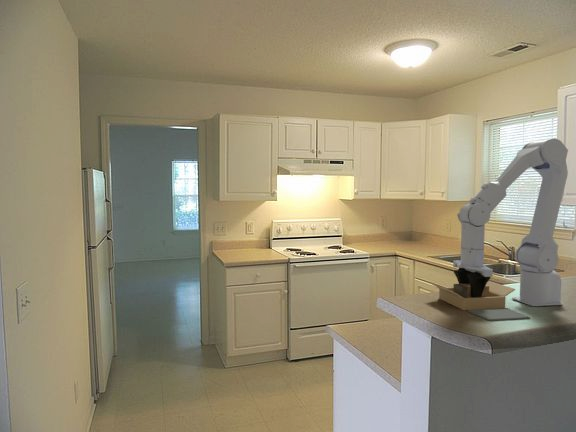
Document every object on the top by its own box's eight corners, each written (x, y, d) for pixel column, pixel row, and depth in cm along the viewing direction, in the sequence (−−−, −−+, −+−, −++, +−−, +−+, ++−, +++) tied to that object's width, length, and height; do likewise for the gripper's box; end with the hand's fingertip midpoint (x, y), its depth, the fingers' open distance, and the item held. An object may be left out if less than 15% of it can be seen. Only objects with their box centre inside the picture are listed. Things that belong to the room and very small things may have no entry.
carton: (486, 296, 120) (486, 279, 119) (515, 307, 108) (516, 289, 108) (429, 299, 116) (429, 281, 116) (452, 310, 105) (453, 291, 105)
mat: (506, 309, 106) (506, 307, 106) (530, 318, 98) (530, 317, 98) (467, 311, 104) (468, 309, 104) (488, 320, 97) (488, 319, 97)
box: (479, 300, 115) (479, 283, 115) (488, 304, 111) (489, 286, 111) (453, 301, 114) (453, 283, 113) (461, 305, 110) (462, 287, 109)
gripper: (444, 245, 118) (442, 292, 119) (475, 252, 104) (474, 305, 104) (466, 244, 119) (465, 291, 120) (500, 251, 105) (499, 304, 106)
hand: (470, 298), depth 112 cm, fingers closed on box, 4 cm apart
